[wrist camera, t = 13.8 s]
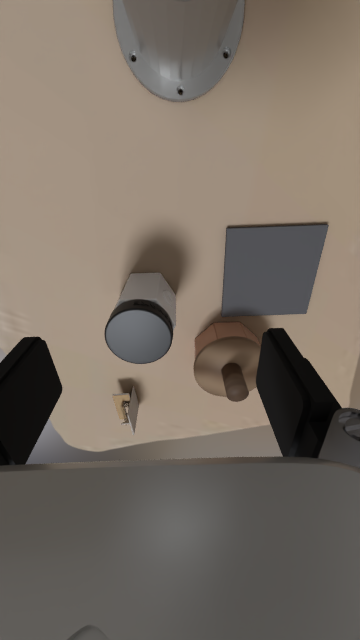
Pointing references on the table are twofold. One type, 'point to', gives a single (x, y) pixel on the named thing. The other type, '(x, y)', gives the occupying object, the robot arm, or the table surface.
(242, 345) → the lid
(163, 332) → the jar
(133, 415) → the architectural model
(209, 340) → the bowl
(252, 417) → the table surface
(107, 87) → the table surface
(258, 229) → the mat
